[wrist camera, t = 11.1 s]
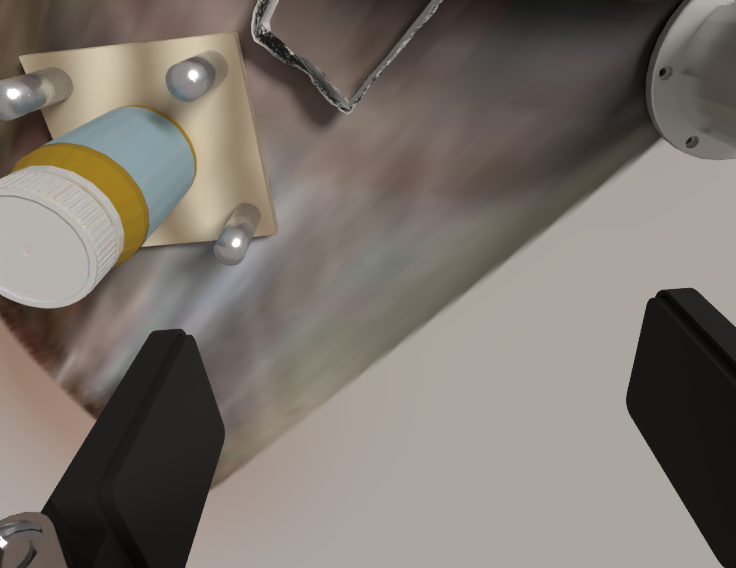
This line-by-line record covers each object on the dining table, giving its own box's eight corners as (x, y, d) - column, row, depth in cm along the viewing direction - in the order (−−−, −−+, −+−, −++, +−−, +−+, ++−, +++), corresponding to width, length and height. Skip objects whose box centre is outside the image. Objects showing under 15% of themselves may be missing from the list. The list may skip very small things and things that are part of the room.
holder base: (237, 31, 33) (233, 33, 32) (278, 228, 40) (275, 234, 39) (29, 54, 34) (18, 56, 32) (105, 243, 41) (98, 250, 40)
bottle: (143, 216, 38) (29, 336, 25) (76, 132, 35) (-94, 221, 22) (219, 175, 37) (139, 281, 24) (156, 83, 33) (24, 148, 20)
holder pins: (224, 48, 32) (196, 61, 27) (263, 226, 39) (247, 264, 33) (36, 68, 33) (-26, 84, 28) (105, 240, 39) (65, 279, 34)
